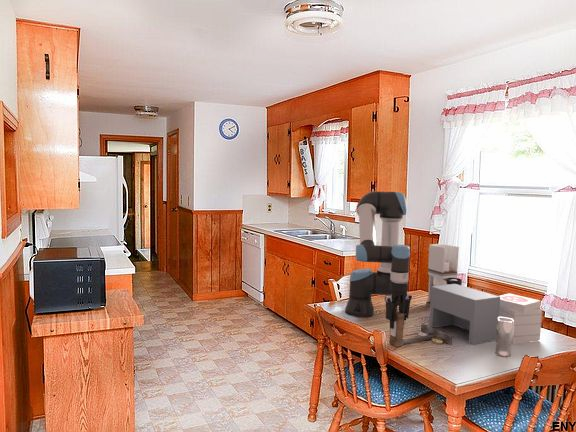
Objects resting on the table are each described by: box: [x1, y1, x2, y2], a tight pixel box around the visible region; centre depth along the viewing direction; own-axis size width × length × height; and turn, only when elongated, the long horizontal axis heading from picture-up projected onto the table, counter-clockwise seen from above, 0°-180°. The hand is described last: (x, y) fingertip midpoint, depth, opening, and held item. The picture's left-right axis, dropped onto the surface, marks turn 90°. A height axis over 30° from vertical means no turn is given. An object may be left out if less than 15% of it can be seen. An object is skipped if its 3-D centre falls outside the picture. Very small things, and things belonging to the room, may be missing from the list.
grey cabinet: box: [428, 284, 500, 346], centre depth 215 cm, size 26×16×20 cm, turn 27°
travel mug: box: [446, 277, 463, 286], centre depth 241 cm, size 8×8×20 cm
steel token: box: [417, 330, 429, 337], centre depth 211 cm, size 5×5×2 cm
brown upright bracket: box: [388, 310, 453, 348], centre depth 202 cm, size 18×25×14 cm
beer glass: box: [494, 317, 514, 358], centre depth 190 cm, size 7×7×15 cm
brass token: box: [431, 337, 445, 345], centre depth 203 cm, size 5×5×2 cm
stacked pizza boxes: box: [498, 293, 543, 345], centre depth 217 cm, size 19×30×18 cm, turn 15°
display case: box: [425, 243, 460, 307], centre depth 258 cm, size 11×11×35 cm
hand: (396, 334), depth 197 cm, fingers closed on brown upright bracket, 3 cm apart
